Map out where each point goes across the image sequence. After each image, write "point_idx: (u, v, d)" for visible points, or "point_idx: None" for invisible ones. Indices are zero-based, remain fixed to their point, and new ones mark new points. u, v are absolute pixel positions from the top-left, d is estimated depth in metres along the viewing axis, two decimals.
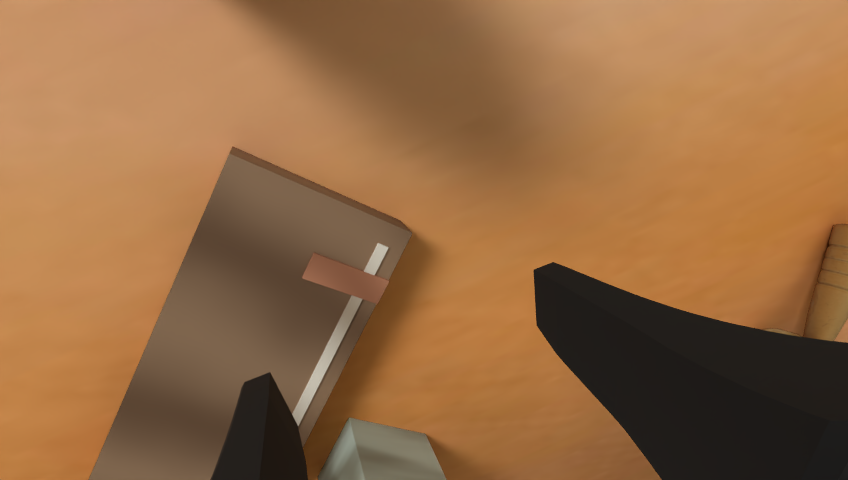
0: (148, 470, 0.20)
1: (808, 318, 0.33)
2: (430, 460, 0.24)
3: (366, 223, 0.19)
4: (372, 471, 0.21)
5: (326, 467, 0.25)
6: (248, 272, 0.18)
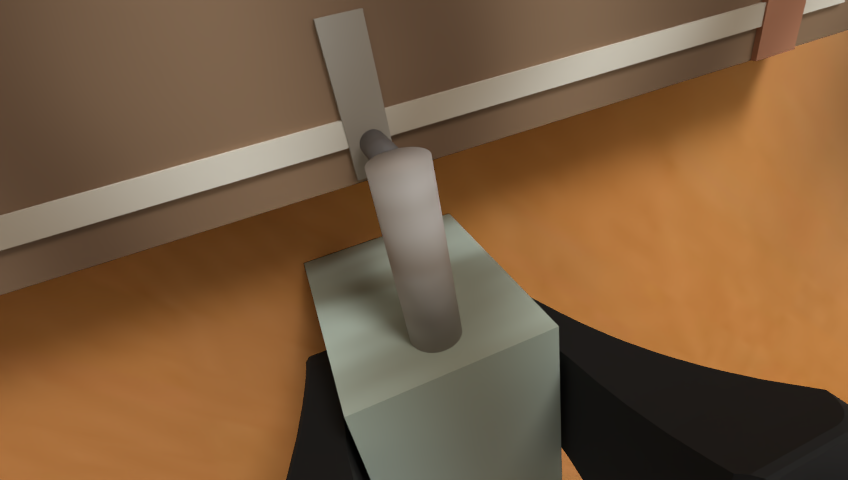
0: None
1: None
2: None
3: None
4: None
5: (346, 258, 0.11)
6: None
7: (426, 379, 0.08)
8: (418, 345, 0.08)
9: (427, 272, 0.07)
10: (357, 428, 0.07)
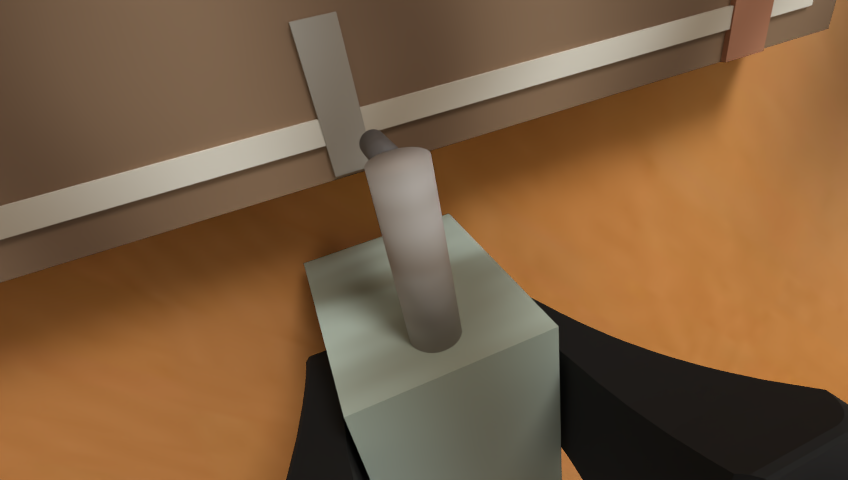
0: None
1: None
2: None
3: None
4: None
5: (346, 258, 0.11)
6: None
7: (426, 379, 0.08)
8: (418, 345, 0.08)
9: (427, 272, 0.07)
10: (357, 428, 0.07)
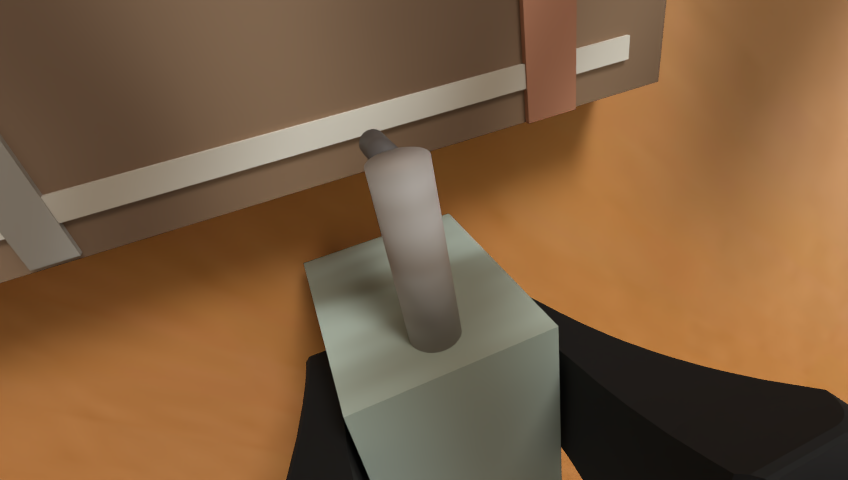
0: None
1: None
2: None
3: None
4: None
5: (346, 258, 0.11)
6: None
7: (425, 379, 0.08)
8: (417, 345, 0.08)
9: (426, 272, 0.07)
10: (356, 428, 0.07)
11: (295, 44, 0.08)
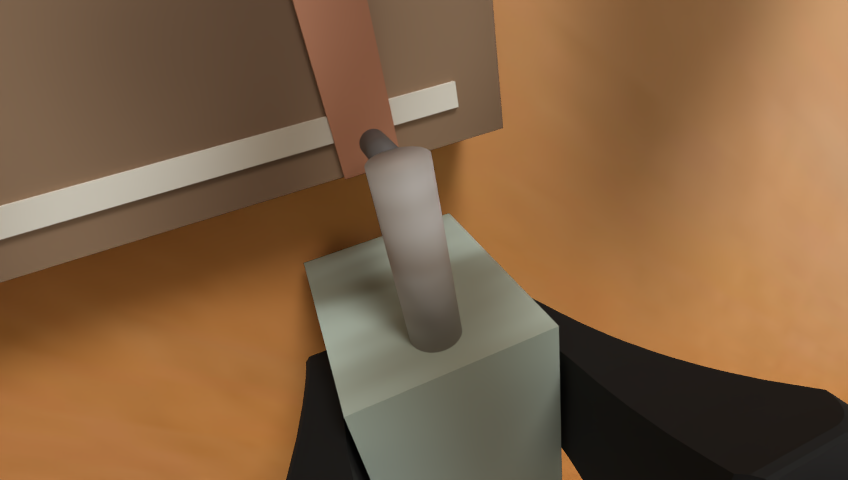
0: None
1: None
2: None
3: (474, 28, 0.09)
4: None
5: (346, 258, 0.11)
6: None
7: (426, 379, 0.08)
8: (418, 345, 0.08)
9: (427, 272, 0.07)
10: (357, 428, 0.07)
11: (20, 107, 0.07)
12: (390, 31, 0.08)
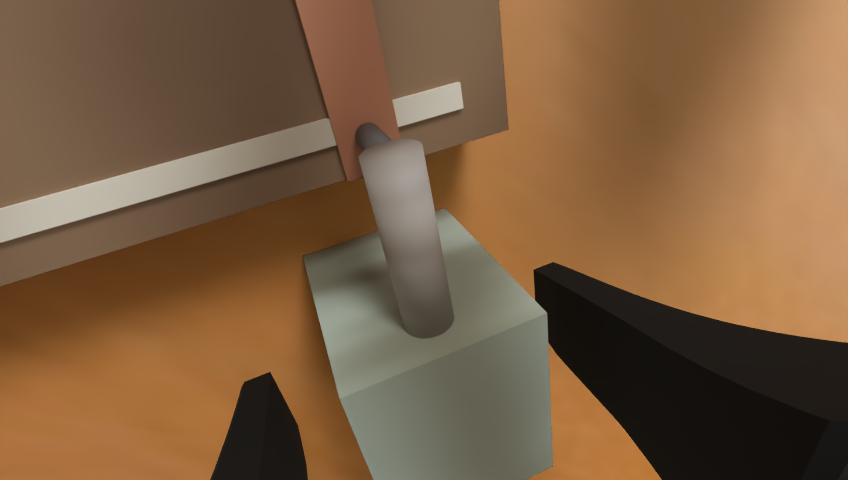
0: None
1: None
2: None
3: (480, 28, 0.08)
4: None
5: (344, 250, 0.12)
6: None
7: (418, 363, 0.08)
8: (411, 330, 0.08)
9: (419, 259, 0.07)
10: (352, 410, 0.08)
11: (16, 109, 0.07)
12: (394, 31, 0.08)
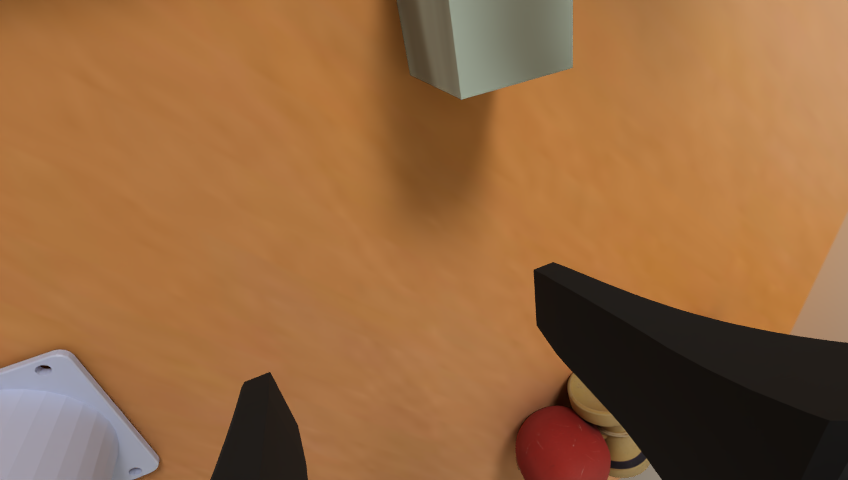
0: None
1: None
2: None
3: None
4: None
5: None
6: None
7: None
8: None
9: None
10: None
11: None
12: None
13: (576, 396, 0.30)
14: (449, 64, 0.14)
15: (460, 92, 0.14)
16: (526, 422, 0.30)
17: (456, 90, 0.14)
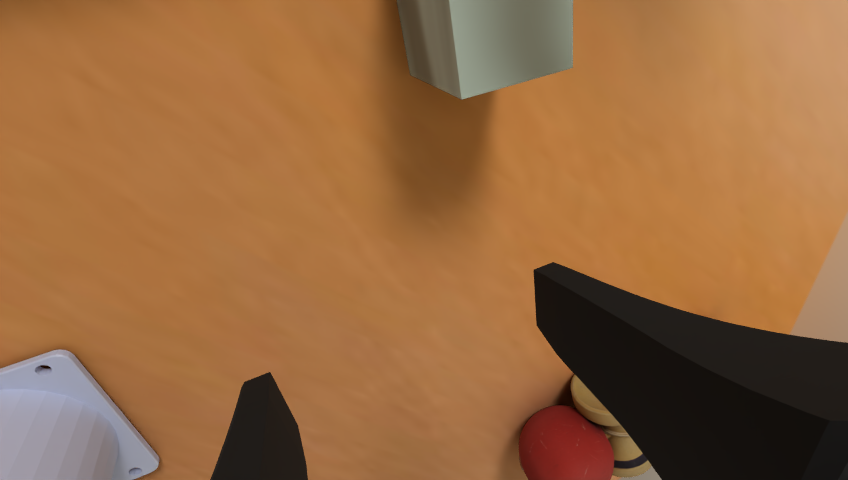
0: None
1: None
2: None
3: None
4: None
5: None
6: None
7: None
8: None
9: None
10: None
11: None
12: None
13: (579, 395, 0.29)
14: (449, 64, 0.14)
15: (460, 92, 0.14)
16: (529, 422, 0.30)
17: (456, 90, 0.14)
